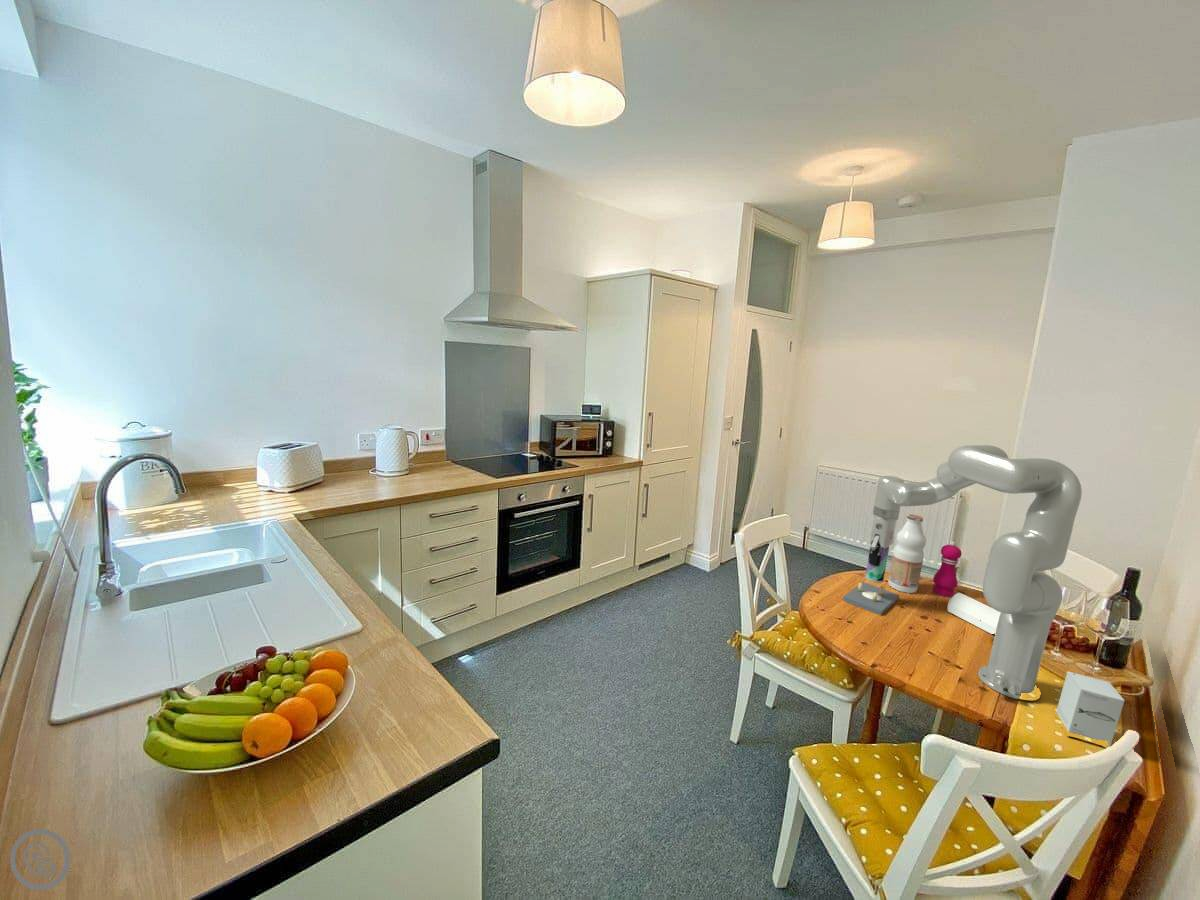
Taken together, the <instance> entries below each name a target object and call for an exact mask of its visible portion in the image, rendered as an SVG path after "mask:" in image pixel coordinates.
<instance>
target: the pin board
mask: <svg viewBox="0 0 1200 900" xmlns="http://www.w3.org/2000/svg"><path fill="white" fill-rule="evenodd" d="M899 597H900V594H899V593H895V592H893V591H889V590H887V589H886V588H885V586H883V585H881V586H880V587H878V586H876V585H873V584H870V583H867V582H864V581H862V582H858V585H857V586H855V587H854V588H853V589H852V590H850V591H849V592H848V593H846V594H845V595H844V596H843V598H842V601H843V602H845V603H848V604H851V605H853V606H856V607H857V608H860V609H862V610H863V609H864V610H866V611H869V612H871V613H874V614H876V615H878V614H879V616H882V615H883V614H884V613H886V611H887V610H888V609H890V608H891V606H892V605H894V603H896V602H897V601H898V600H899V599H900V598H899ZM898 598H899V599H898ZM897 599H898V600H897ZM896 600H897V601H896ZM895 601H896V602H895Z"/></svg>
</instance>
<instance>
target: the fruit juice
mask: <svg viewBox="0 0 1200 900" xmlns="http://www.w3.org/2000/svg"><path fill="white" fill-rule="evenodd" d="M923 521H924V517H923V516H921V515H918V514H914V513H912V514H911V513H910V514H909V513H908V514H907V515H906V522H905V524H904V525H903V526H902V528H901V529H900V530H899V531H898V532H897V534H896V535H895V539H896V544H895V546H894V548H893V551H892V557H891V562H890V568H889V574H888V580H887V584H888V586H889V585H890V586H891V587H890V586H889V587H890V588H892V589H893V588H894V590H895V589H896V590H895V591H898V592H901V593H905V592H906V593H905V594H913V593H916V592H917V590H918V589H919V583H920V578H921V572H922V569H923V568H922V567H923V563H924V557H925V556H924V554H925V553H924V549H925V546H926V544H927V543H926V542H927V538H926V536H925V534H924V530H923V527H922V526H923V525H922V523H923Z"/></svg>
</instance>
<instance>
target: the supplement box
mask: <svg viewBox="0 0 1200 900" xmlns="http://www.w3.org/2000/svg"><path fill="white" fill-rule="evenodd" d="M1124 704H1125V699H1124V698H1123V697H1122V695H1121V694H1120V693H1119V692H1118V690H1117V689H1116V688H1115V687H1114V686H1113V684H1111V682H1110V681H1106V680H1103V679H1099V678H1096V677H1095V678H1094V677H1093V676H1092V677H1091V676H1087V675H1083V674H1079V673H1076V672H1072V671H1068V670H1067V672H1066V676H1065V679H1064V682H1063V687H1062V689H1061V693H1060V697H1059V702H1058V704H1057V706H1056V707H1057V708H1056V711H1055V713H1056V712H1057V714H1058V716H1059V718H1060V719H1061V721H1062V723H1063V724H1064V726H1065V727H1066V729H1067V731H1068V732H1070V733H1073V734H1078V735H1082V736H1086V737H1089V738H1092V739H1096V740H1103V741H1105V740H1106V741H1109V742H1108V744H1109V745H1108V746H1110V747H1111V745H1112V742H1113V739H1114V736H1115V732H1116V729H1117V726H1118V722H1119V719H1120V717H1121V712H1122V710H1123V707H1124ZM1108 746H1106V747H1108ZM1106 747H1105V748H1104V749H1106Z"/></svg>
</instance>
